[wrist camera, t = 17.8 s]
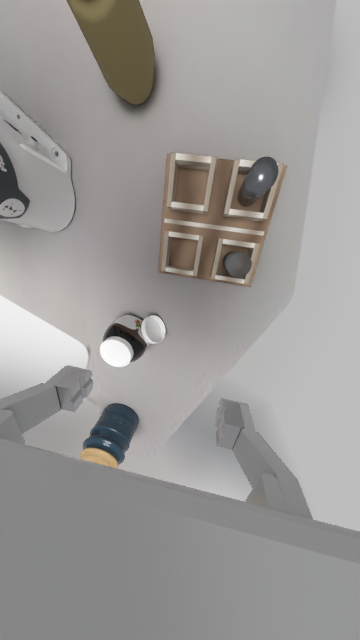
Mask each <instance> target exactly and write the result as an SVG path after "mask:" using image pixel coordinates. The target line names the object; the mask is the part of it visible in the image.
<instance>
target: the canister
mask: <svg viewBox="0 0 360 640" xmlns="http://www.w3.org/2000/svg"><path fill="white" fill-rule="evenodd" d="M137 424H138V417H137V415H136V413H135V412H134V411H133V410H132V409H130V408H129V407H127V406H125V405H121V404H111V405H109V406H108V407H107V408H106V409H105V410H104V411H103V412H102V414H101V417H100V418H99V420H98V421H97V423H96V425H95V426H94V428H93V429H92V430H91V432H90V436H89V438H87V439H86V440H85V441H84V443H83V450H82V451H81V453H80V457H81V459H82V460H86V461H90V462H94V463H98V464H102V465H105V466H109V467H113V468H118V465H119V464H120V463H122V462H123V461H124V457H125V455H124V454H125V452H126V451H127V450H128V448H129V444H130V442H131V439H132V437H133V434H134V431H135V430H136V428H137Z"/></svg>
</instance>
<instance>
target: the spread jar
mask: <svg viewBox="0 0 360 640" xmlns="http://www.w3.org/2000/svg"><path fill="white" fill-rule="evenodd" d="M165 334H166V329H165V325H164V323H163V321H162V320H161V319H160V318H159V317H158V316H155V315H151V316H148V317H146V318H145V319H144V320H142V319H141V318H139V317H136V316H133V315H123V316H121V317H120V318H118V319H117V320H116V321H115V322H113V323H112V324H111V325H110V326H109V328H108V329H107V330H106V332H105V334H104V337H103V343H102V344H101V346H100V354H101V356H102V358H103V359H104V360H105V361H106V362H107V363H108V364H110V365H112V366H115V367H124V366H126V365H128V364H129V362H134V361H136V360H137V359H139V358H140V357H141V356H142V355H143V354H144V352H145V351H146V349H147V348H148V346H149V344H150V343H151V344H157V343H160V342H162V341H163V340H164V338H165Z"/></svg>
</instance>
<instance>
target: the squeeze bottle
mask: <svg viewBox="0 0 360 640" xmlns="http://www.w3.org/2000/svg"><path fill="white" fill-rule="evenodd" d="M67 2H68V4H69V6H70V8H71V10H72V12H73V14H74V16H75V18H76V20H77V22H78V24H79V26H80V28H81V30H82V33H83V35H84V37H85V39H86V41H87V43H88V45H89V47H90V49H91V51H92V53H93V55H94V57H95V59H96V61H97V63H98V65H99V67H100V69H101V72H102V74H103V76H104V78H105V80H106V81H107V83H108V85H109V87H110V88H111V89H112V90H113V91H114V92H115V93H116V94H117V95H118V96H120V97H121V98H123V99H124V100H126V101H127V102H129V103H131V104H135V105H138V104H141V103H143V102H144V101H145V100H146V99H147V98H148V97H149V95H150V93H151V91H152V88H153V81H154V56H155V55H154V47H153V39H152V35H151V32H150V30H149V27H148V24H147V21H146V19H145V16H144V13H143V10H142V8H141V5H140V2H139V0H67Z"/></svg>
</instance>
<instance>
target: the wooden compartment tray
mask: <svg viewBox="0 0 360 640" xmlns="http://www.w3.org/2000/svg"><path fill="white" fill-rule="evenodd" d="M255 162H256V161H251V160H241V159H235V160H226V159H217V157H211V156H201V155H191V154H181V153H171V154H167V161H166V175H165V188H164V202H163V215H162V228H161V242H160V255H159V269H158V272H161V273H167V274H173V275H180V276H186V277H192V278H198V279H205V280H211V281H217V282H224V283H230V284H236V285H242V286H249V287H250V286H251V283H252V280H253V276H254V273H255V270H256V266H257V263H258V260H259V257H260V253H261V250H262V247H263V243H264V240H265V237H266V234H267V230H268V227H269V224H270V220H271V217H272V214H273V211H274V207H275V204H276V201H277V198H278V194H279V191H280V188H281V184H282V181H283V178H284V175H285V171H286V168H287V166H286V165H284V164H281V163H277V165H278V177H277V179H276V182H275V183H274V185H273V186H272V187H271V188H270V189H269V190H268V191H267V192H265V193H264V194H263V195H262V196H261V197H260V198H259V199H258V200H257V201H256V202H255V203H254V204H252V205H251V206H248V207H244V206H242V205H240V204H239V202H238V200H237V193H238V190H239V188H240V187H241V185H242V183H243V181H244V179H245V177H246V176H247V174H248V172H249V170H250V168H251V167H252V165H253V164H254V163H255Z"/></svg>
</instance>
